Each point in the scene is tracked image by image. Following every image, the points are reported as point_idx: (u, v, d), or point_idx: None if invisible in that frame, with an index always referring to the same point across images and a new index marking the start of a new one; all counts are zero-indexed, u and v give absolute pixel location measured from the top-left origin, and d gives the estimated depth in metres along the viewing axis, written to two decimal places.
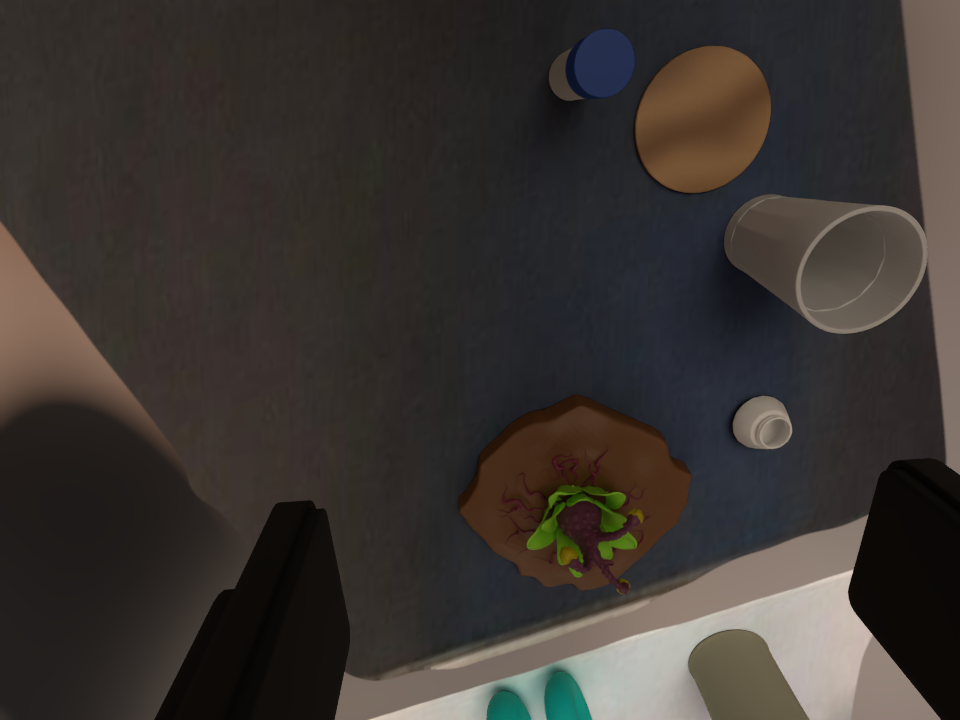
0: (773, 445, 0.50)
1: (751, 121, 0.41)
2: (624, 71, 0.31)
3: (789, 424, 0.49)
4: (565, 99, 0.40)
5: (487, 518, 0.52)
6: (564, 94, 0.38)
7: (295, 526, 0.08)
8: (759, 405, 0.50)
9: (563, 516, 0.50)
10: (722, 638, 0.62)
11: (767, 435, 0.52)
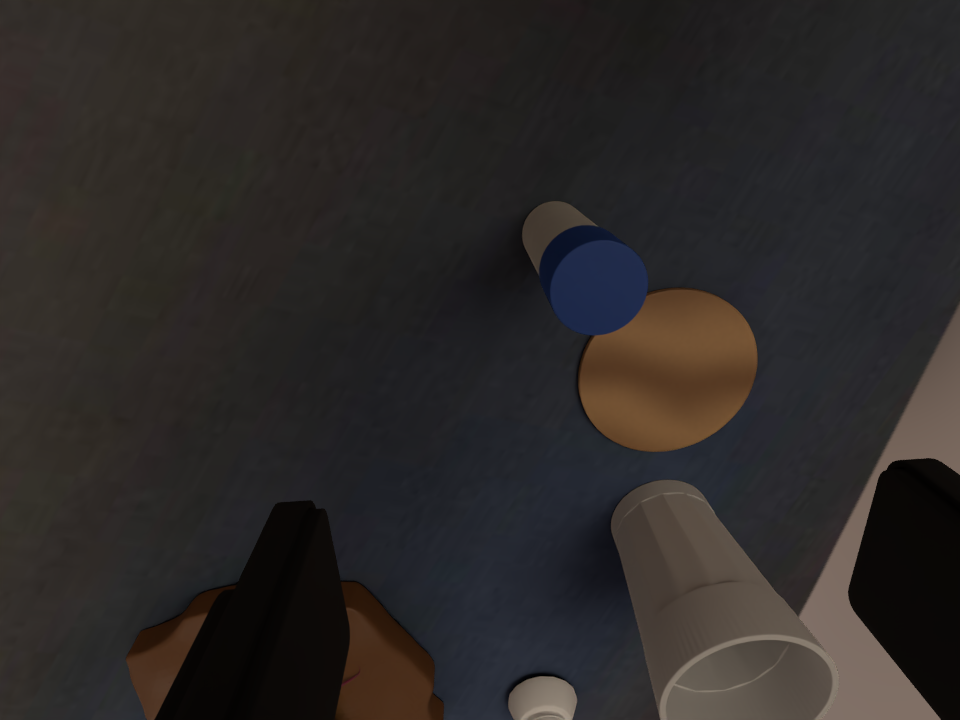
0: None
1: (717, 403, 0.32)
2: (618, 315, 0.20)
3: None
4: None
5: (158, 684, 0.36)
6: (531, 259, 0.26)
7: (295, 526, 0.08)
8: (553, 692, 0.40)
9: None
10: None
11: None
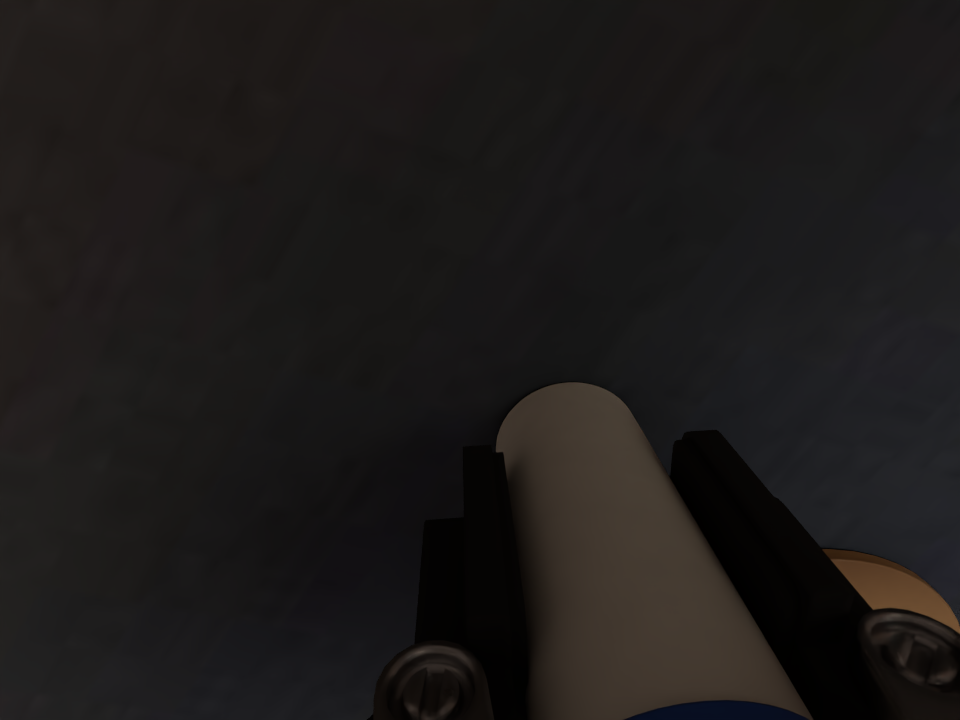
0: None
1: None
2: None
3: None
4: None
5: None
6: None
7: (490, 463, 0.09)
8: None
9: None
10: None
11: None
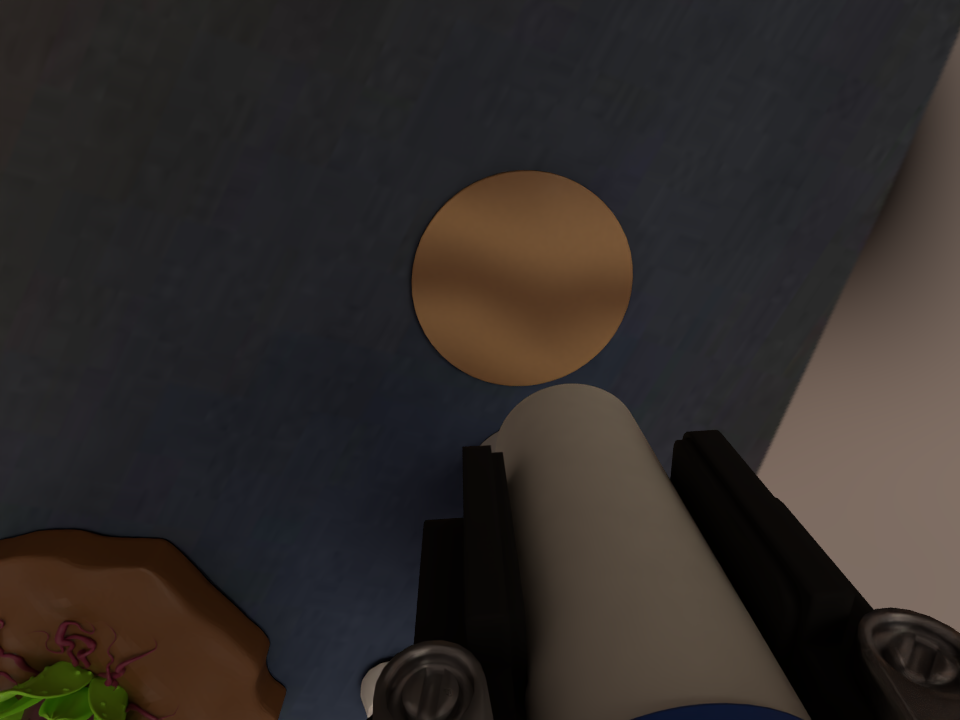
0: None
1: (586, 326, 0.26)
2: None
3: None
4: None
5: None
6: None
7: (489, 464, 0.09)
8: None
9: (28, 715, 0.29)
10: None
11: None
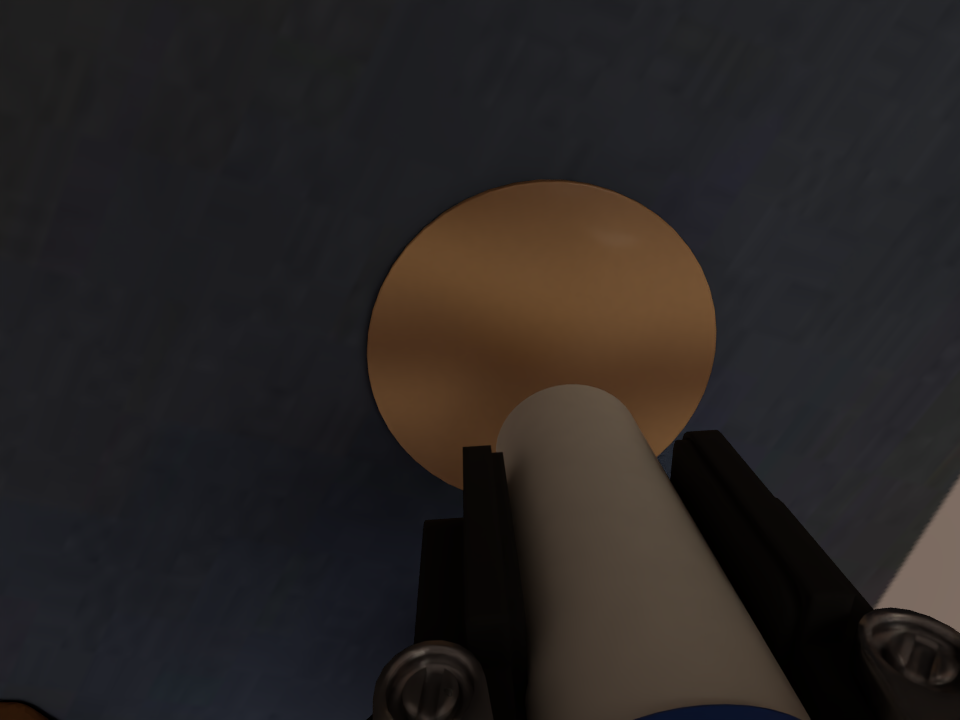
0: None
1: (639, 420, 0.17)
2: None
3: None
4: None
5: None
6: None
7: (489, 464, 0.09)
8: None
9: None
10: None
11: None
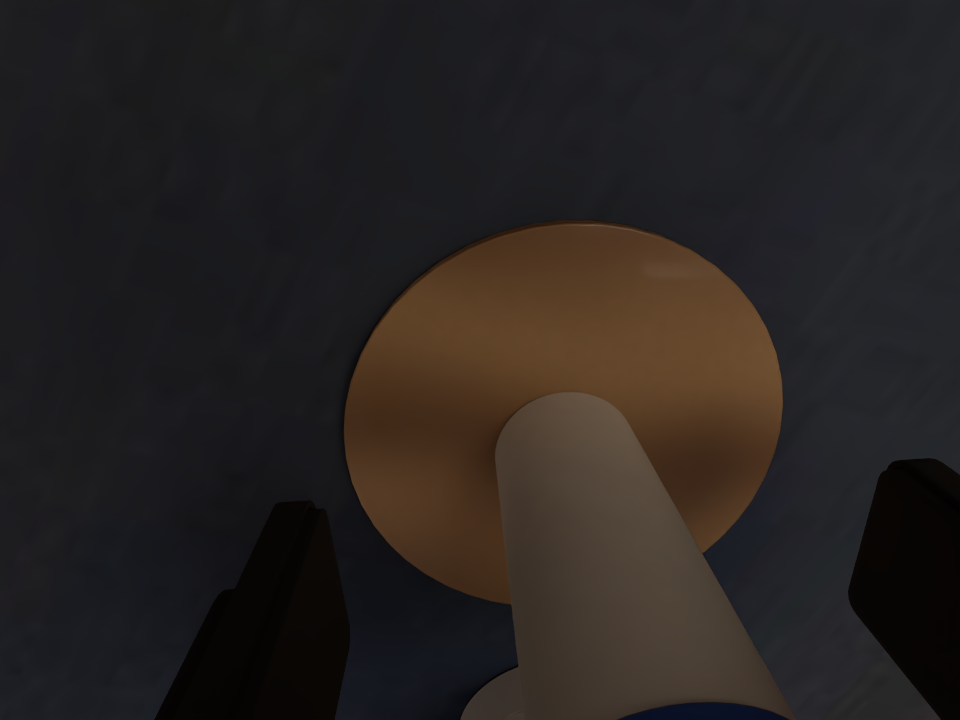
0: None
1: (682, 511, 0.14)
2: None
3: None
4: None
5: None
6: None
7: (295, 526, 0.08)
8: None
9: None
10: None
11: None
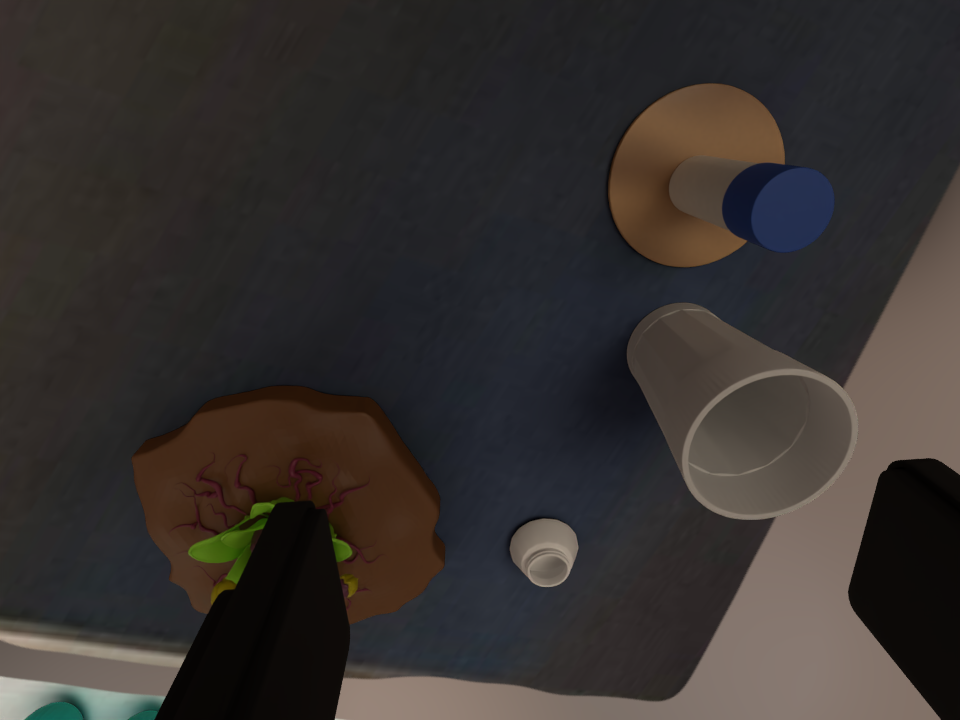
0: (536, 580, 0.40)
1: None
2: (804, 235, 0.23)
3: (567, 572, 0.40)
4: (677, 204, 0.32)
5: (163, 486, 0.36)
6: (689, 201, 0.29)
7: (295, 526, 0.08)
8: (556, 532, 0.40)
9: None
10: None
11: (540, 564, 0.43)
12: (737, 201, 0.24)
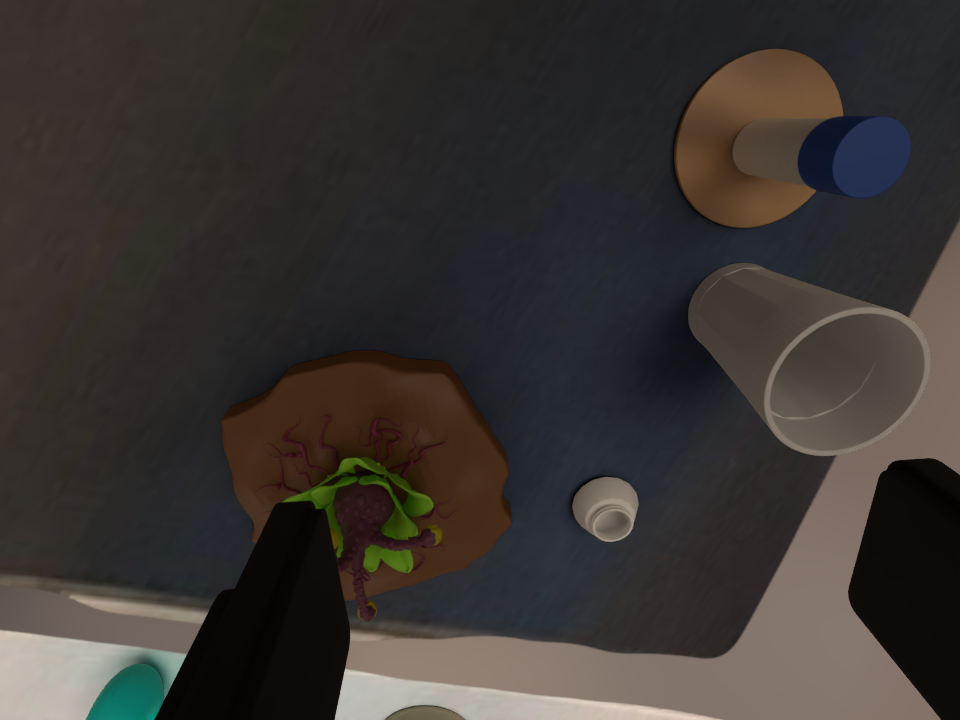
0: (600, 535, 0.42)
1: None
2: (881, 181, 0.25)
3: (630, 527, 0.42)
4: (741, 166, 0.33)
5: (251, 448, 0.38)
6: (757, 160, 0.31)
7: (295, 526, 0.08)
8: (619, 489, 0.42)
9: (346, 493, 0.37)
10: (432, 714, 0.52)
11: (600, 522, 0.45)
12: (816, 152, 0.26)
